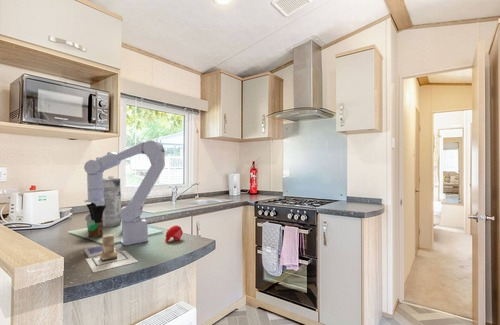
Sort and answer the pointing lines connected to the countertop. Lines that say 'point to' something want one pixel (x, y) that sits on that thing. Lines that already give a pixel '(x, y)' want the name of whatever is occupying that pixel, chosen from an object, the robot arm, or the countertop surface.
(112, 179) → the juice carton
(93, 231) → the food container
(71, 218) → the countertop surface
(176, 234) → the red rounded piece
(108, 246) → the stamp
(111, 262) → the paper
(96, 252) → the ink pad
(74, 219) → the countertop surface
